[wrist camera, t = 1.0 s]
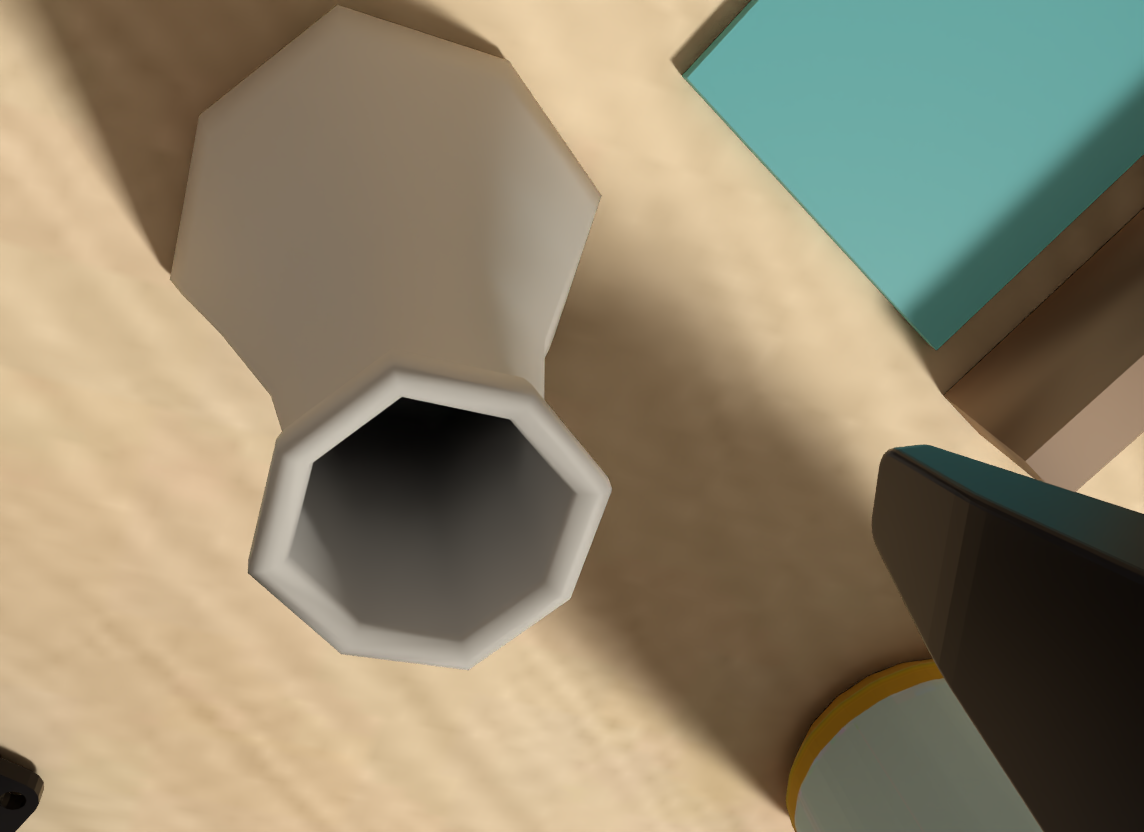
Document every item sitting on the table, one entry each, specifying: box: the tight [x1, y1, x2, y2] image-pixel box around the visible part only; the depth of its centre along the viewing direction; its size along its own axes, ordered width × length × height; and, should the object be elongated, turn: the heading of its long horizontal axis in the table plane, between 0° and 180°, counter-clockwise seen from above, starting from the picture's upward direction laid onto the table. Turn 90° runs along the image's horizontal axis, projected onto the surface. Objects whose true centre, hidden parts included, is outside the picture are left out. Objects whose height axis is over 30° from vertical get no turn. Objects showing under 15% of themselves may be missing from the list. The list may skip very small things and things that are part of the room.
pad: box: [682, 0, 1144, 350], centre depth 19 cm, size 8×8×1 cm
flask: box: [170, 5, 612, 670], centre depth 14 cm, size 7×7×10 cm
